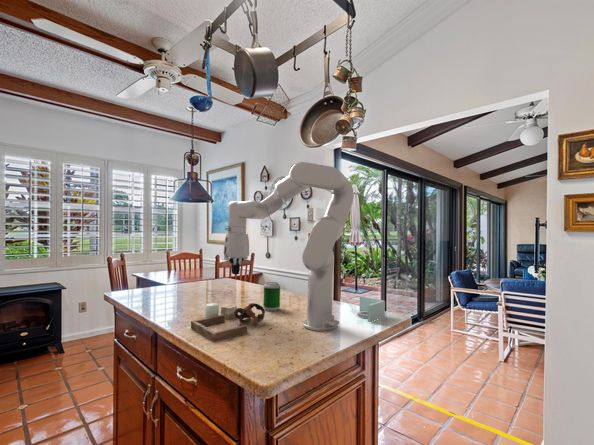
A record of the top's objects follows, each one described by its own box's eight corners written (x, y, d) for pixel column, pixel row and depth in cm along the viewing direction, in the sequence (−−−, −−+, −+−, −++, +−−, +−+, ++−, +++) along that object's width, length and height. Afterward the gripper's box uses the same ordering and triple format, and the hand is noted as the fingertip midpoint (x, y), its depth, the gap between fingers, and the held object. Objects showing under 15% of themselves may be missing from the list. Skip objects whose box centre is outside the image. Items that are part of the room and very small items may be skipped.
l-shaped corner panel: (360, 312, 139) (360, 296, 139) (384, 318, 131) (384, 300, 131) (345, 317, 130) (345, 300, 131) (370, 324, 122) (370, 305, 122)
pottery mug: (255, 318, 128) (263, 302, 126) (261, 334, 120) (269, 318, 118) (228, 314, 122) (236, 297, 120) (232, 331, 114) (240, 314, 112)
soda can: (279, 311, 136) (279, 284, 136) (262, 311, 136) (262, 284, 136) (280, 307, 143) (280, 281, 143) (264, 307, 143) (264, 281, 143)
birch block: (236, 316, 127) (236, 306, 128) (228, 319, 124) (228, 308, 124) (228, 315, 130) (228, 304, 130) (220, 317, 126) (220, 306, 126)
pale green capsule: (220, 320, 123) (220, 305, 123) (209, 322, 119) (209, 307, 119) (214, 317, 126) (214, 302, 126) (203, 319, 123) (203, 304, 123)
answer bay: (247, 332, 109) (247, 325, 109) (213, 341, 100) (213, 333, 100) (223, 320, 121) (223, 314, 121) (190, 327, 112) (191, 320, 112)
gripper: (225, 230, 121) (223, 276, 121) (256, 231, 131) (255, 273, 131) (216, 229, 127) (214, 274, 127) (247, 230, 136) (246, 271, 136)
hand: (235, 273), depth 129 cm, fingers closed
